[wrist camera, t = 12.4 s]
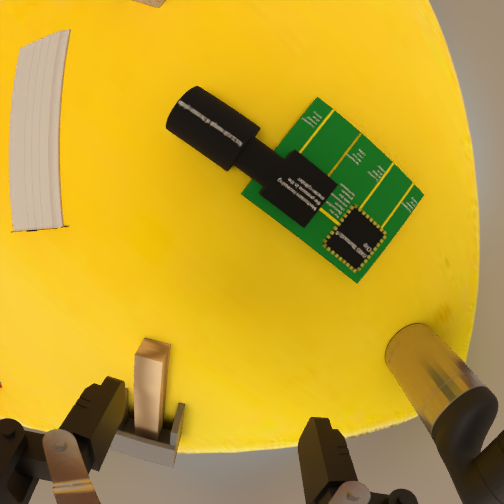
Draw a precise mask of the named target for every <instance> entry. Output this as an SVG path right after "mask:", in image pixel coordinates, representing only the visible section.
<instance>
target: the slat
mask: <svg viewBox="0 0 504 504" xmlns="http://www.w3.org/2000/svg"><path fill="white" fill-rule="evenodd" d="M170 345H171V344H167V343H163V342H159V341H156V340H152V339H148V338H144V340H143V342H142V343H141V345H140V347H139V348H138V350H137V352H136V354H135V365H134V420H135V435H137V436H141V437H144V438H148V439H151V440H155V441H158V438H159V435H160V431H161V428H162V425H163V418H164V405H165V393H166V382H167V372H168V363H169V353H170Z"/></svg>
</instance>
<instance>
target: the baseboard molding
mask: <svg viewBox="0 0 504 504" xmlns="http://www.w3.org/2000/svg"><path fill="white" fill-rule="evenodd" d="M70 32H71V30H70V29H68V30H65V31H58V32H56V33H54V34H52V35H49V36H47V37H45V38H42V39H40V40H38V41H35V42H33V43H31V44H29V45H27V46H25V47H22V48H20V51H19V56H18V62H17V67H16V73H15V80H14V87H13V95H12V105H11V116H10V133H9V182H10V199H11V211H12V221H13V229H14V232H18V230H26V231H27V232H29V231H37V230H29V229H39V230H44V229H43V228H53V229H58V228H54V227H61V228H63V227H62V226H64V223H63V213H62V200H61V185H60V114H61V99H62V87H63V78H64V69H65V62H66V55H67V49H68V43H69V37H70ZM64 227H66V226H64ZM67 227H68V226H67ZM12 232H13V231H12Z"/></svg>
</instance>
